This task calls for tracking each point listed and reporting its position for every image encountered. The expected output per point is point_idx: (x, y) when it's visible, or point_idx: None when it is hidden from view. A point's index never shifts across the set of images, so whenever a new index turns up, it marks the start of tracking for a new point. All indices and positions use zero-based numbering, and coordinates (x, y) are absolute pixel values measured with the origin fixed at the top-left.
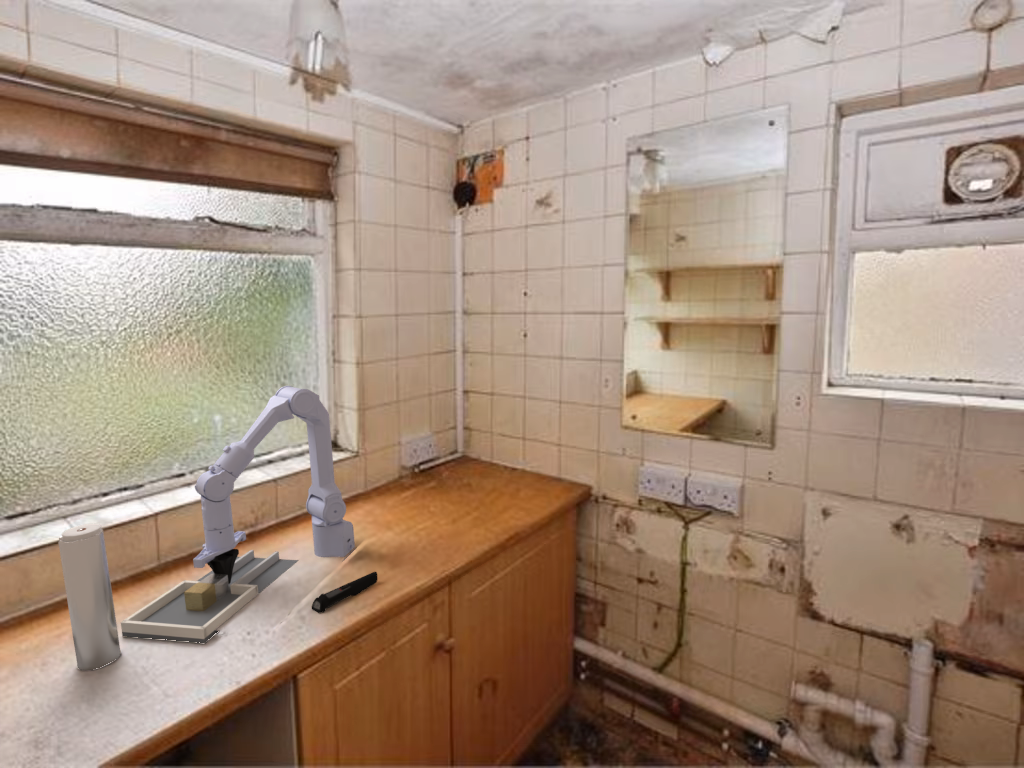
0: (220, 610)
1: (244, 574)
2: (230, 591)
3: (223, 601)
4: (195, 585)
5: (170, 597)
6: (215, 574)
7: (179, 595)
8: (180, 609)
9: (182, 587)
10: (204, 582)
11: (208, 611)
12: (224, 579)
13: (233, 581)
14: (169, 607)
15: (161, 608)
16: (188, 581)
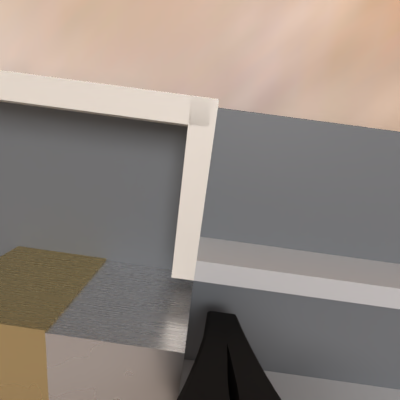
0: None
1: (351, 336)
2: (186, 346)
3: None
4: (3, 336)
5: (66, 109)
6: (172, 383)
7: (140, 122)
8: (18, 216)
9: (166, 122)
10: (53, 369)
11: None
12: None
13: (282, 318)
14: (21, 149)
15: (3, 110)
16: (200, 145)
